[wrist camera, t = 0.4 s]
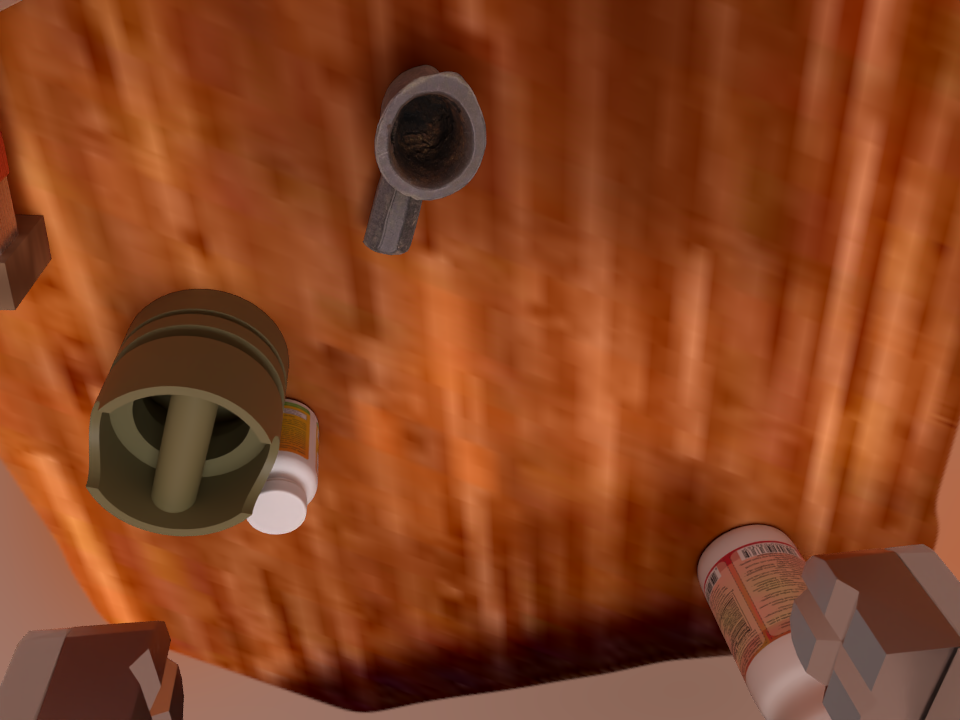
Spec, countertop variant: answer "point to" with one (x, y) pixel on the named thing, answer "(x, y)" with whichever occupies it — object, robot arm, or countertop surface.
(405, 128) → the pipe
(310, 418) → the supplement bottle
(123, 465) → the piston
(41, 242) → the posts
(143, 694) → the robot arm
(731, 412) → the countertop surface
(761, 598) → the fruit juice
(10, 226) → the steel rail
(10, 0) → the collar
